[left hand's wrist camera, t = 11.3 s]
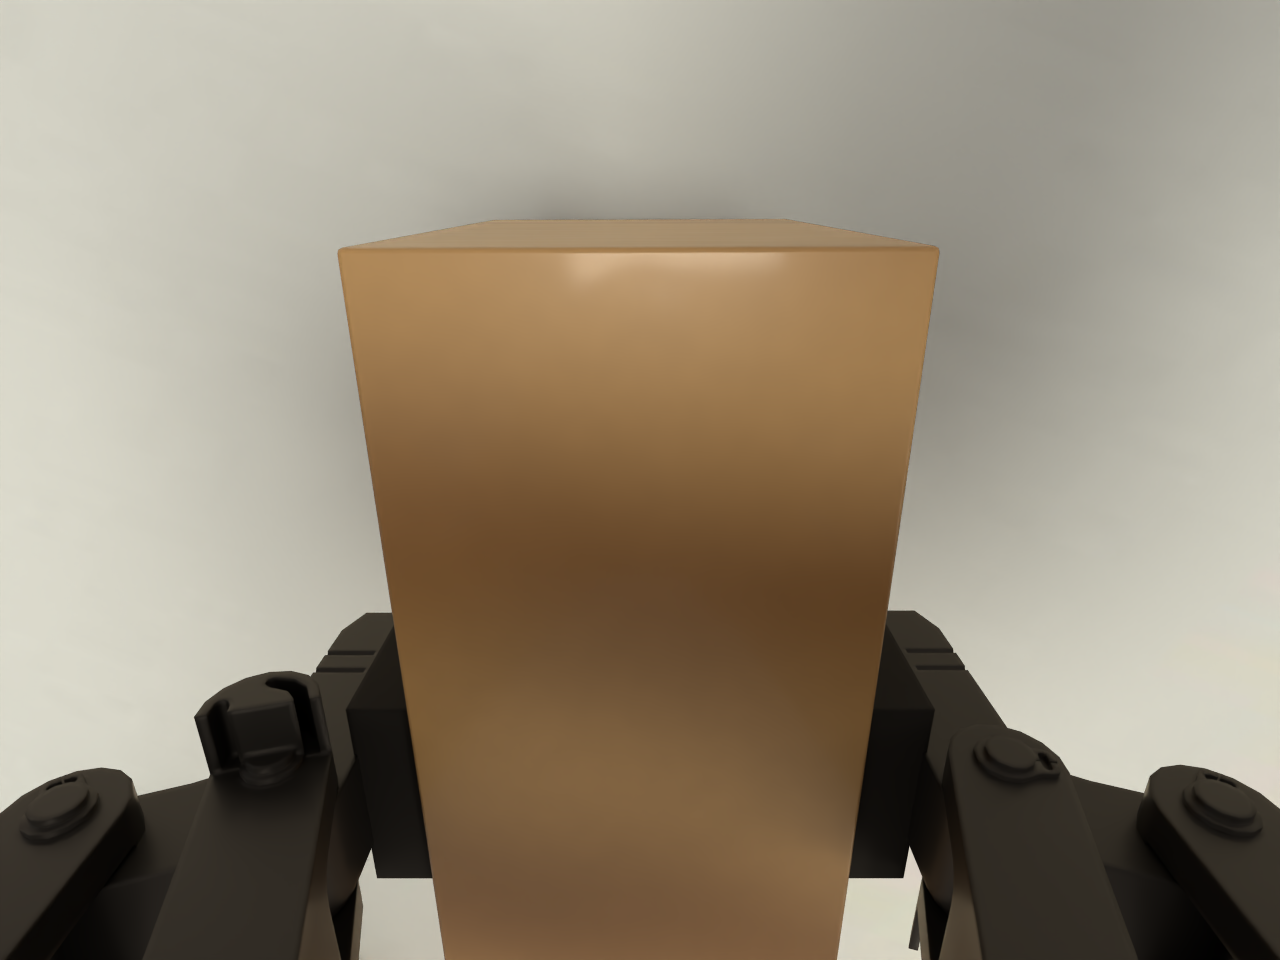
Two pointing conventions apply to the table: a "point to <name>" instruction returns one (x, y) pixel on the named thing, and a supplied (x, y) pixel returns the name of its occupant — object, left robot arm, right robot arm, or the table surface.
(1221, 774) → the left robot arm
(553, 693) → the bar
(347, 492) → the table surface
